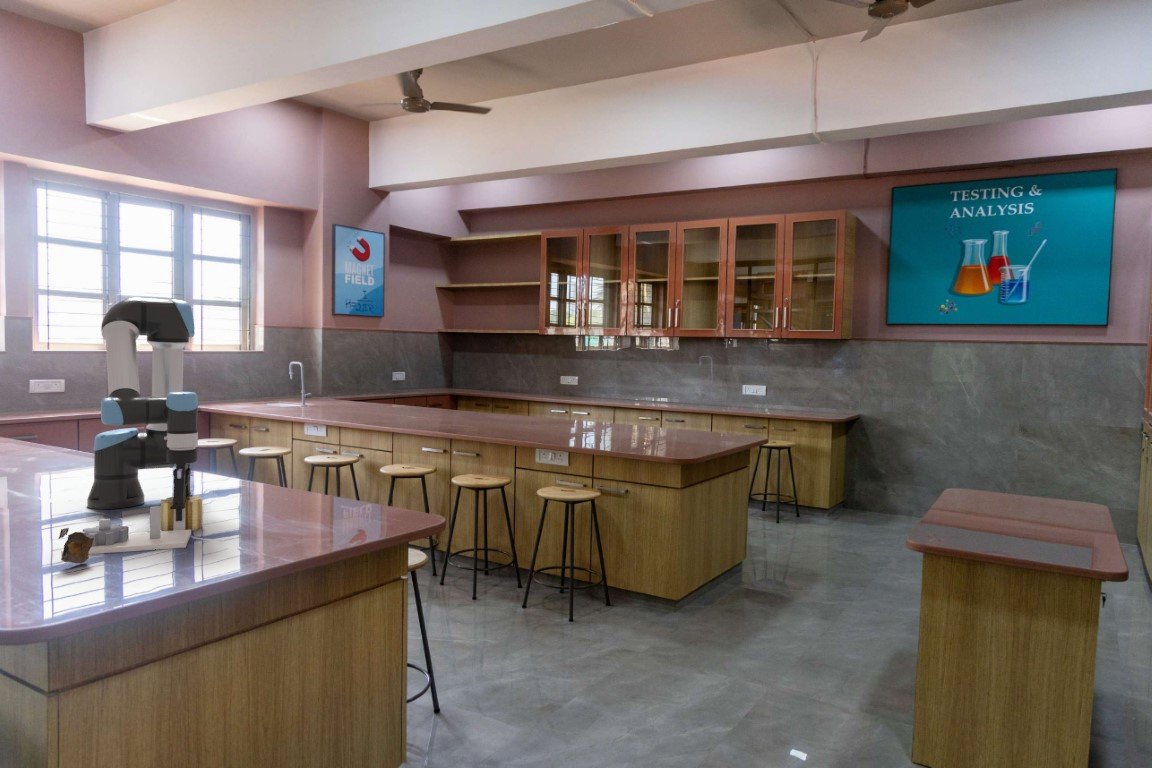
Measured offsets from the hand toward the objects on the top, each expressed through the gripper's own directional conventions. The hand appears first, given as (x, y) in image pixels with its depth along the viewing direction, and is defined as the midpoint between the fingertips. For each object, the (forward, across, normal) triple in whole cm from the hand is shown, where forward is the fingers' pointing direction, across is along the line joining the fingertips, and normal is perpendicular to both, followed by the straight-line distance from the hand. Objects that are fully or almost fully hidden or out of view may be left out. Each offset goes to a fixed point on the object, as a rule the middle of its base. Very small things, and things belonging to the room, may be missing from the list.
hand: (181, 527), depth 201 cm
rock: (+1, +32, -19) cm, 37 cm away
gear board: (0, +14, -10) cm, 18 cm away
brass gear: (0, 0, 0) cm, 0 cm away
